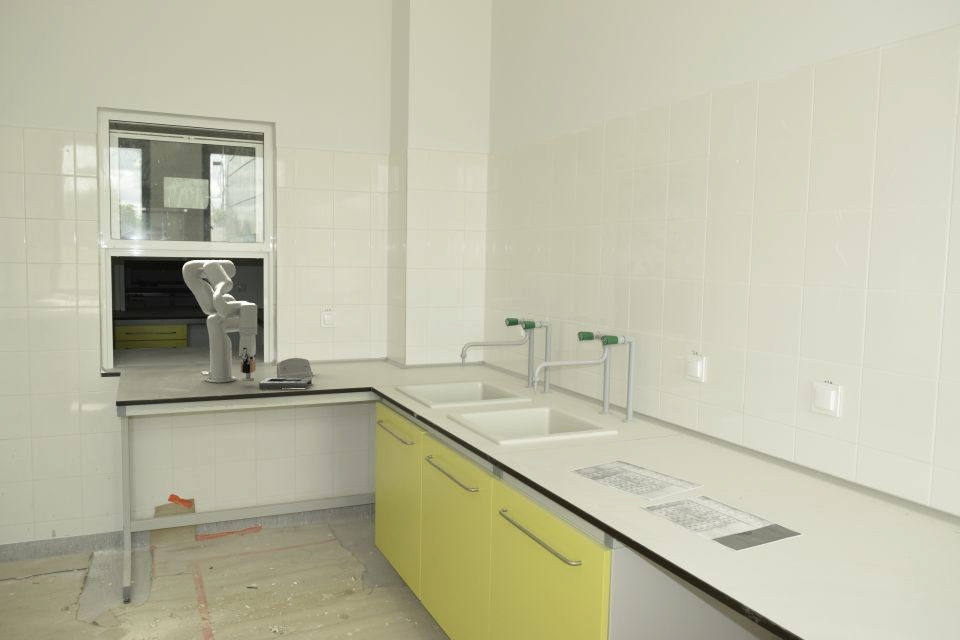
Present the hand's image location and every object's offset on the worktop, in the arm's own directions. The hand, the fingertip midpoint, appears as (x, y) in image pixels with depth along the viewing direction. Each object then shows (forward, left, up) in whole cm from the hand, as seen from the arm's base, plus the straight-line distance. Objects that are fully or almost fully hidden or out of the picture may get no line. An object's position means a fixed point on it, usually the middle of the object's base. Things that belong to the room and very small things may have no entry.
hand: (248, 371), depth 320 cm
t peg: (0, 0, -4) cm, 4 cm away
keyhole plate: (+17, -1, -7) cm, 18 cm away
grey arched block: (+14, +26, -7) cm, 30 cm away
